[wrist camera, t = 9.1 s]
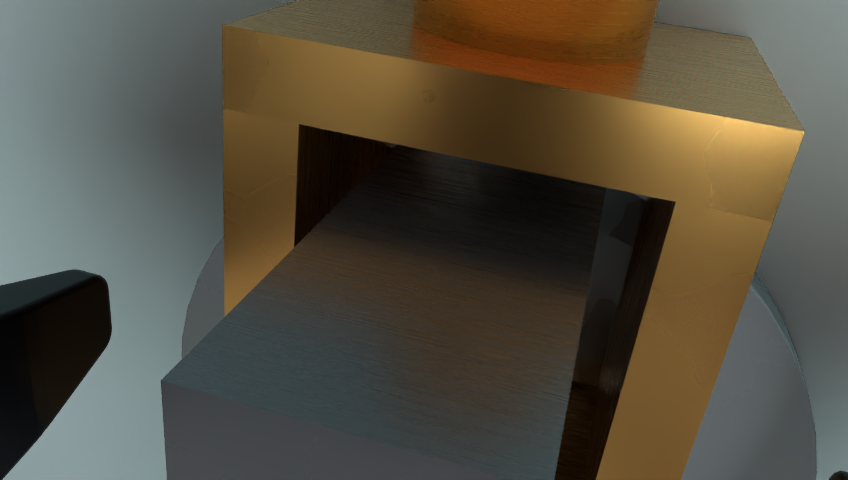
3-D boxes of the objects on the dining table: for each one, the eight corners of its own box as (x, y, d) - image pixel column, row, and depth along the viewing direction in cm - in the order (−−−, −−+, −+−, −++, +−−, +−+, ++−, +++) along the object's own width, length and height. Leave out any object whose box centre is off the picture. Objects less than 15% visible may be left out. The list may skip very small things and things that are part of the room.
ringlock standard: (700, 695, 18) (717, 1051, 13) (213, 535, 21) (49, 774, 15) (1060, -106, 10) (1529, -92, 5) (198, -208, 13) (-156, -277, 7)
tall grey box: (566, 347, 14) (474, 811, 7) (411, 309, 15) (180, 702, 8) (614, 141, 12) (551, 490, 5) (434, 107, 13) (161, 380, 6)
